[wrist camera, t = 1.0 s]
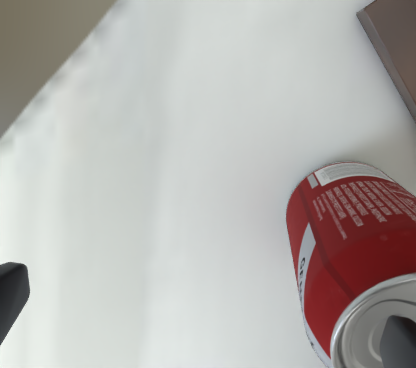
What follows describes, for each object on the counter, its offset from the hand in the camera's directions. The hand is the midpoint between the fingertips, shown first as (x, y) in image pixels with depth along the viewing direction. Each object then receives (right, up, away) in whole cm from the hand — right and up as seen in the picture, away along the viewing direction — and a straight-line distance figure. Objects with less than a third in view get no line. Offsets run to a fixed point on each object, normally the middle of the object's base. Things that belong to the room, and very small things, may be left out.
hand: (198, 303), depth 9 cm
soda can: (+9, +1, +13) cm, 16 cm away
